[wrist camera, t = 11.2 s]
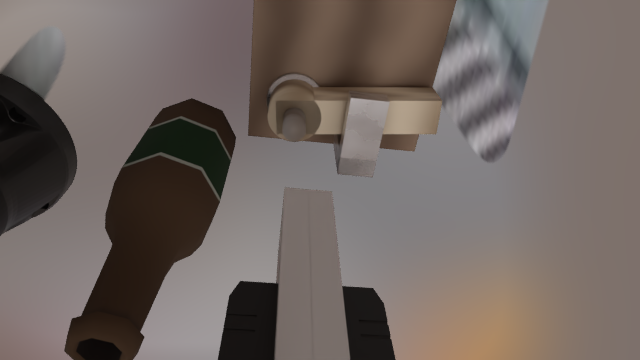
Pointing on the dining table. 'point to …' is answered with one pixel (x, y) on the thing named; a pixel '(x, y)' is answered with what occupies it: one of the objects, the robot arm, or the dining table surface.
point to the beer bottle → (153, 224)
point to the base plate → (346, 49)
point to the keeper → (354, 128)
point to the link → (330, 105)
